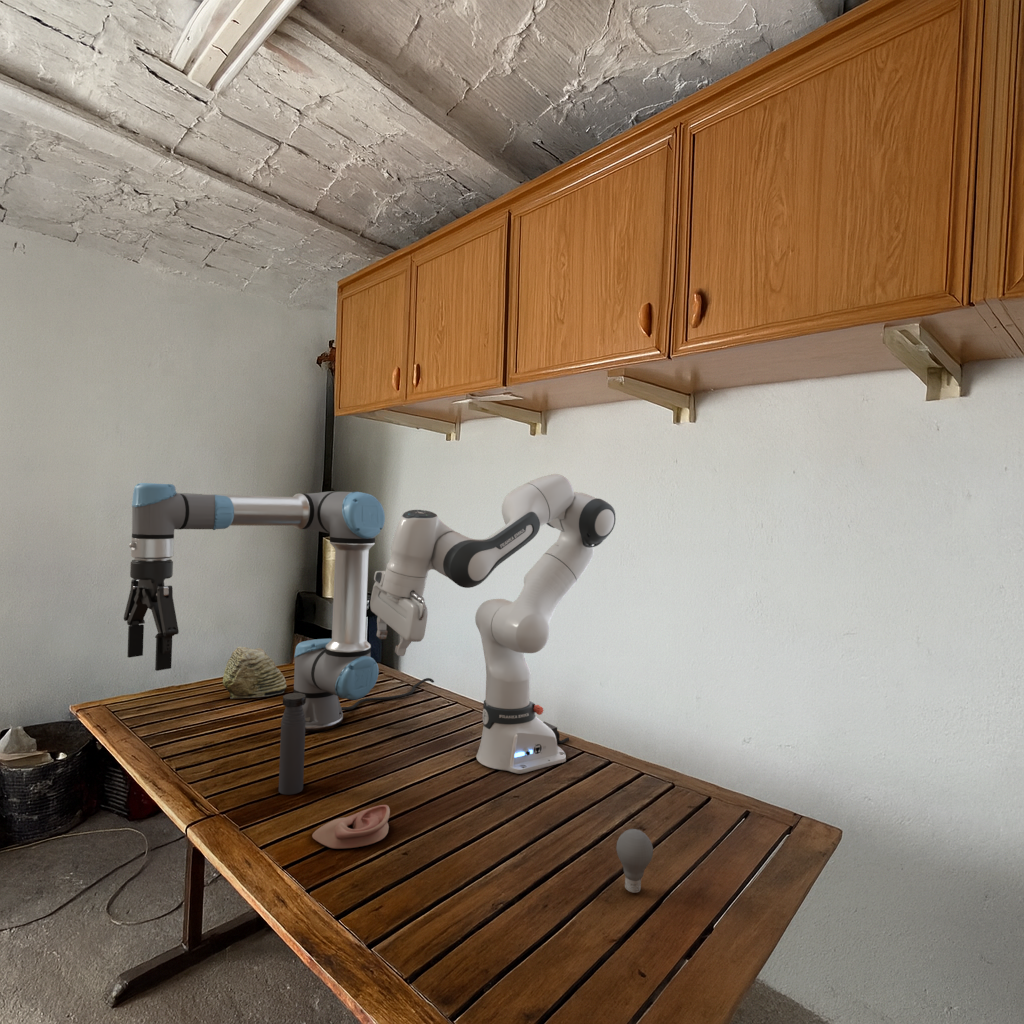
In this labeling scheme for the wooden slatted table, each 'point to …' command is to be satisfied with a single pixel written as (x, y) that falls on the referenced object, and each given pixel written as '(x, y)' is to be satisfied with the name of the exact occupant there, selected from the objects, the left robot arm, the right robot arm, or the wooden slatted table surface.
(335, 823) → the anatomical model
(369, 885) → the wooden slatted table surface
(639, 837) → the light bulb
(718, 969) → the wooden slatted table surface
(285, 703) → the cap
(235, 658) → the fossil
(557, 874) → the wooden slatted table surface
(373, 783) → the wooden slatted table surface
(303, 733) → the bottle
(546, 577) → the right robot arm
